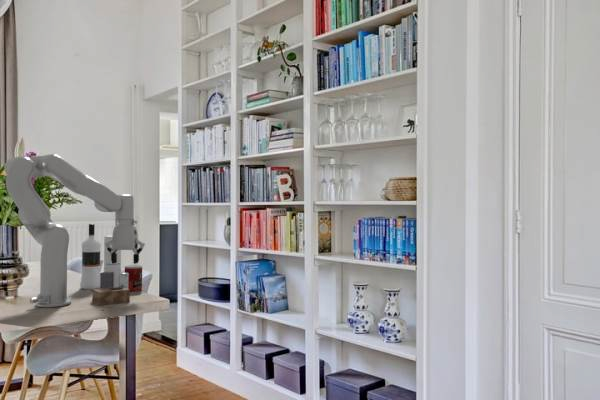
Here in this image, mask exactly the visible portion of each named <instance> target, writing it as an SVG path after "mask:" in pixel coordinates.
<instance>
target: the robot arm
mask: <svg viewBox="0 0 600 400" xmlns="http://www.w3.org/2000/svg"><path fill="white" fill-rule="evenodd" d="M3 168H4V172H5V175H6V178H5V186H6V191H7V193H8V196H9V197H10V199H11V200H12V201H13V203H14V204H15V206H16V207H17V208H18V213H17V214H18V218H19V220H20V222H21V224H22V225H23V226H24V228H25V229H26V230H27V231H28V233H29V234H30V235H31V236H32V238H33V239H34V240H35V241H36V242H37V244H39V245H40V246H41V250H40V251H41V252H40V263H39V264H40V276H39V277H40V278H39V279H40V280H39V281H40V283H39V284H40V286H39V292H40V293H39V294H37V296H36V297H31V298H30V299H29V303H30V304H35V306H36V307H38V308H39V307H40V308H57V307H64V306H68V305H70V304H71V303H72V300H71V299H70V298H69V299H68V298H67V297H68V295H67V294H68V250H69V243H70V234H69V231H68V230H67V228H66V227H65V226H63V225H61V224H58V223H54V222H53V220H52V219H51V215H52V213H51V210H50V208H49V206H48V205H47V204H46V203H45V202H44V200H43V199H42V198H41V196H40V195H39V194H38V193H37V191H36V190H35V188H34V186H33V184H32V179H33V178H42V177H44V178H45V177H50V178H52V179H53V180H55V181H57V182H58V183H59V184H61V185H63V186H64V187H65V188H66V189H68V190H69V191H70V192H73V193H74V194H77V195H81V196H83V197H86V198H88V199H90V200H92V201H93V202H94V203H93V205H94V207H95V209H96V210H97V211H100V212H103V213H114V214H115V215H114V217H115V218H114V222H115V223H114V225H115V226H114V227H113V228H112V229H113V230H112V235H111V236H112V240H111V241H109V242H108V243H106V244H105V246H106V248H107V250H108V251H109V252H110V254H111V261H112V263H113V264H114V263H116V262H117V254H116V251H117V250H121V251H132V253H134V254H133V257H132V258H133V265H137V264H139V262H140V254H141V252H142V251H143V249H144V247H145V246H146V244H145V243H144V242H142V241H140V240H139V238H138V230H137V226H136V224H137V223H138V221H137V220H135V214H134V213H135V211H134V205H135V203H134V201H135V200H134V196H133V195H131V194H116V193H115V192H113V191H112V190H111V189H110V188H108V187H107V186H105V185H104V184H103V183H101V182H99V181H97V180H95V179H94V178H92V177H91V176H89V175H87V174H86V173H84V172H83V171H81V169H78V168H77V167H75V166H74V165H73V164H72V163H70V162H68V161H67V160H66V159H65V158H63V156H60V155H58V154H55V153H50V154H45V155H37V156H24V155H20V156H15V157H11V158H9V159H8V160H7V161H6V162H5V164H4V167H3ZM111 244H112V248H113V249H112V248H111V247H110V245H111Z"/></svg>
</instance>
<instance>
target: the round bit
mask: <svg viewBox="0 0 600 400" xmlns="http://www.w3.org/2000/svg"><path fill="white" fill-rule="evenodd" d="M128 276H129V273H125V272H121V273H119V287H124V288H127V289H128Z"/></svg>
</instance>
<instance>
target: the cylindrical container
mask: <svg viewBox="0 0 600 400" xmlns="http://www.w3.org/2000/svg"><path fill="white" fill-rule="evenodd" d="M112 236H113V235H104V239H103V240H104V243H103V247H104V248H103V249H104V250H103V272H114V287H119V273H122V266H121V264H122V250H117V251H116V254H117V262H116V263H114V264H113V263H112V261H111V254H110V252H109V251H108V250H107V248H106V246H105V244H106V243H108V242H109V241H111V240H112ZM110 247H111V248H112V244H111V245H110ZM112 249H113V248H112Z"/></svg>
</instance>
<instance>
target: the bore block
mask: <svg viewBox="0 0 600 400" xmlns="http://www.w3.org/2000/svg"><path fill="white" fill-rule="evenodd" d="M91 291H92V292H91V293H92V296H91V297H92V301H91V302H93V303H94V304H96V305H99V306H102V305H103V306H104V305H106V306H107V305H115V304H120V303H121V304H123V303H130V298H131V297H130V295H131V294H130V293H131V291H130V289H127V288H124V287H111V288H101V289H100V288H98V289H91Z"/></svg>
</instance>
